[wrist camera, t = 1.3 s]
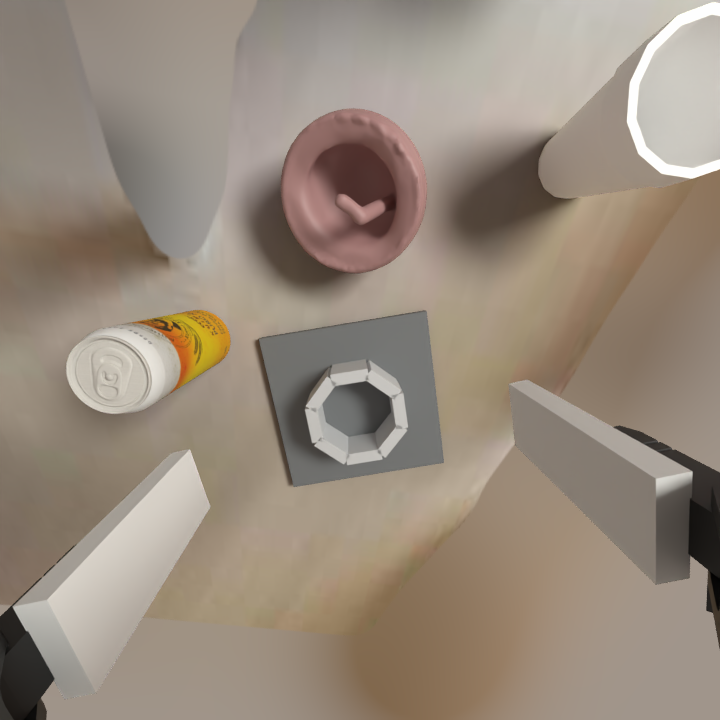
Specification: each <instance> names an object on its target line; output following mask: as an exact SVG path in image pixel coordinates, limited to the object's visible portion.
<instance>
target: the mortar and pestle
mask: <svg viewBox="0 0 720 720" xmlns="http://www.w3.org/2000/svg"><path fill="white" fill-rule="evenodd" d="M281 199H282V206H283V210H284V214H285V217H286V220H287V223H288V225H289V227H290V229H291V231H292V233H293V235H294V237H295V238H296V240H297V241H298V243H299V244H300V245H301V246H302V248H303V249H304V250H305V251H306V252H307V253H308V254H309V255H310V256H312V257H313V258H314V259H315V260H317V261H318V262H319V263H321V264H323V265H325V266H326V267H329V268H332V269H335V270H338V271H342V272H347V273H363V272H369V271H372V270H375V269H378V268H380V267H383V266H385V265H387V264H389V263H390V262H392V261H393V260H394V259H395V258H397V257H398V256H399V255H400V254H401V253H402V252H403V251H404V250H405V249H406V248H407V247H408V245H409V244H410V243H411V241H412V240H413V238H414V237H415V235H416V233H417V231H418V229H419V227H420V225H421V222H422V219H423V216H424V212H425V207H426V199H427V183H426V175H425V170H424V166H423V163H422V160H421V157H420V155H419V153H418V151H417V149H416V147H415V145H414V144H413V142H412V141H411V139H410V138H409V137H408V136H407V134H406V133H405V132H404V131H403V130H402V129H401V128H400V127H399V126H398V125H396V124H395V123H394V122H393V121H391V120H390V119H388V118H386V117H384V116H382V115H380V114H378V113H375V112H372V111H368V110H364V109H342V110H337V111H334V112H331V113H328V114H326V115H324V116H322V117H320V118H318V119H316V120H315V121H313V122H312V123H311V124H309V125H308V126H307V127H306V128H305V129H304V130H303V131H302V132H301V133H300V134H299V135H298V136H297V138H296V139H295V141H294V142H293V143H292V145H291V147H290V149H289V151H288V153H287V156H286V159H285V162H284V166H283V170H282V175H281Z"/></svg>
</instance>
